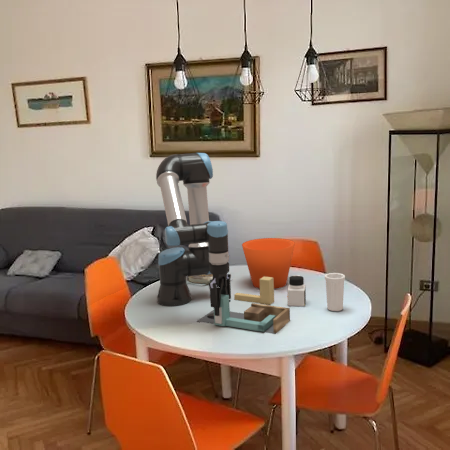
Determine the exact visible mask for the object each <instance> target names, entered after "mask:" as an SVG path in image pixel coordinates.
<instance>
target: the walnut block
mask: <svg viewBox="0 0 450 450" xmlns="http://www.w3.org/2000/svg"><path fill="white" fill-rule="evenodd" d="M243 313H244V320H250V321H257V322H261V321H263V320H264V319H265V309H264V308H257V307H251V306H250V307H248V308H246V310H244V311H243Z"/></svg>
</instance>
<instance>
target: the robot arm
mask: <svg viewBox="0 0 450 450" xmlns="http://www.w3.org/2000/svg"><path fill="white" fill-rule="evenodd" d="M213 170H214V169H213V165H212V160H211V157H210V156H209V155H208V154H207V153H205V152H192V153H175V154H170V155H168V156H167V157H165V158H164V159H163V160H162V161H161V162H160V164H159V165H158V168H157V169H156V173H155V179H156V183H157V185H158V187H159V188H160V191H161V197H162V200H163V207H164V211H165V215H166V220H167V226H166V227H165V228H164V239H165V244H166V245H167V246H169V247H170V246H174V247H172V248H171V247H170V248H167V249H164V250H162V251H160V252H159V254H158V256H157V257H158V258H157V259H158V262H157V265H158V269H159V271H158V272H159V283H160V284H159V289H158V293H157V296H156V298H157V300H156V301H157V303H158V305H161V306H166V307H176V306H182V305H185V304H188V303H190V302H191V301H192V293H191V292H190V291H191V290H190V289H189V286H188V283H187V278H188V277H189V276H197V275H208V274H212V275H213V279H211V283H209V284H208V288H209V299H210V308H213V310H215V323H219V324H222V307H220V301H221V294H223V295H229V303H231V300H232V290H231V288H232V287H231V277H232V275H231V273H230V263H229V260H230V259H229V257H230V255H229V229H228V223H227V222H226V221H222V220H214V221H211V220H210V218H209V217H210V216H209V204H208V190H207V187H208V186H209V184H210V183H211V182H210V180H211V179H213V178H214V177H213V176H214V171H213ZM180 182H182V183H183V184H182V185H183V186H184V187H185V188H186V190H187V191H186V192H187V202H188V203H187V204H188V214H189V216H188V217H189V224H188V221H187V217H186V211H185V209H184V202H183V200H182V196H181V191H180V186H179V183H180ZM184 245H185V246H186V245H188V250H185V248H184V247H183V246H184ZM176 246H177V247H176ZM178 246H179V247H178ZM229 273H230V274H229Z"/></svg>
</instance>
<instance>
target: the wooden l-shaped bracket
mask: <svg viewBox="0 0 450 450" xmlns="http://www.w3.org/2000/svg"><path fill="white" fill-rule="evenodd" d="M250 307H257V308H264V309H265V318H266V317H267V316H269V315H275V316H276V317H275V318H274V319H273V327H274V333H276V334H278V333H279V332H280V331H281V330H282V329H283V328H284V327H285V326H286V325H287V324H288V323H289V322H290V321H291V309H290V307H284V306H283V307H282V306H275V305H265V304H260V303H255V302H251V304H250ZM280 329H281V330H280Z"/></svg>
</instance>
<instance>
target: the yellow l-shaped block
mask: <svg viewBox="0 0 450 450" xmlns="http://www.w3.org/2000/svg"><path fill="white" fill-rule="evenodd" d="M259 280H260V288H259V295H258V294H250V293H242V292H236V293H234V294H233V296H234V300H235V301H241V302H247V303H248V302H249V303H255V304H262V305H270V306H272V305H273V304H274V302H275V289H274V279H273V277H262V278H261V279H259Z"/></svg>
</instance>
